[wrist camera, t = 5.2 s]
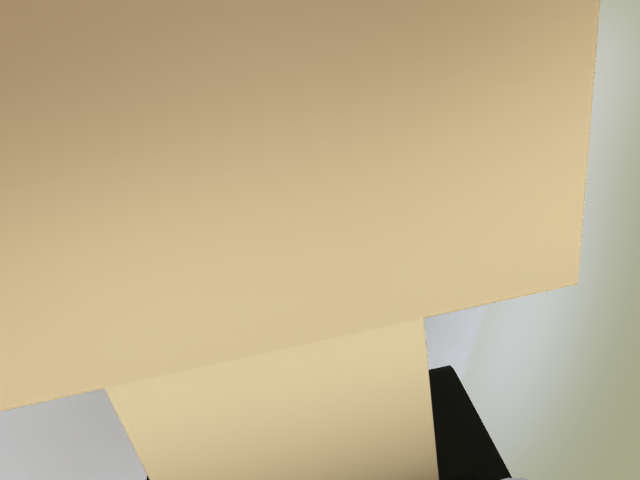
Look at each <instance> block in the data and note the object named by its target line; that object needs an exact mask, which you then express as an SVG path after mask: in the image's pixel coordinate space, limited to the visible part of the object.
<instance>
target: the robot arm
mask: <svg viewBox="0 0 640 480" xmlns="http://www.w3.org/2000/svg"><path fill="white" fill-rule="evenodd" d="M428 371H429V381H430V392H431V402H432V413H433V424H434V434H435V445H436V455H437V466H438V477H439V480H527V479H523V478H512V477H511V475H510V473H509V471H508V470H507V468H506V466H505V464H504V462H503V460H502V458H501V456H500V454H499V453H498V451H497V449H496V447H495V445H494V443H493V442H492V439H491V438H490V436H489V434H488V432H487V430H486V428H485V426H484V425H483V423H482V421H481V419H480V417H479V415H478V413H477V411H476V410H475V408H474V406H473V404H472V402H471V400H470V398H469V397H468V395H467V393H466V391H465V389H464V387H463V385H462V383H461V382H460V380H459V378H458V376H457V374H456V372H455V371H454V369H453V368H452V367H451V366H450V365H449V366H445V367H440V368H436V369H431V370H428ZM147 480H150V479H149V477H148V475H147Z"/></svg>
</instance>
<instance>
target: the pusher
mask: <svg viewBox="0 0 640 480" xmlns="http://www.w3.org/2000/svg"><path fill="white" fill-rule="evenodd" d="M599 10H600V0H0V411H4V410H9V409H14V408H18V407H23V406H27V405H32V404H36V403H41V402H45V401H50V400H54V399H59V398H64V397H68V396H73V395H77V394H82V393H86V392H91V391H95V390H100V389H105V391H106V393H107V395H108V397H109V399H110V401H111V403H112V405H113V407H114V409H115V411H116V413H117V415H118V417H119V419H120V421H121V423H122V425H123V427H124V429H125V431H126V433H127V435H128V437H129V439H130V441H131V443H132V445H133V447H134V449H135V451H136V453H137V455H138V457H139V459H140V461H141V463H142V465H143V467H144V469H145V471H146V473H147V475H148V477H149V479H150V480H439V477H438V466H437V455H436V445H435V434H434V424H433V413H432V402H431V392H430V381H429V371H428V360H427V349H426V339H425V328H424V318H427V317H431V316H436V315H440V314H445V313H449V312H454V311H459V310H463V309H468V308H472V307H477V306H481V305H486V304H490V303H495V302H499V301H504V300H508V299H513V298H518V297H522V296H526V295H531V294H536V293H540V292H544V291H549V290H554V289H558V288H562V287H567V286H572V285H576V284H578V275H579V262H580V250H581V238H582V225H583V213H584V200H585V188H586V175H587V174H586V173H587V162H588V149H589V137H590V124H591V111H592V98H593V86H594V85H593V84H594V73H595V61H596V48H597V35H598V22H599Z"/></svg>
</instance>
